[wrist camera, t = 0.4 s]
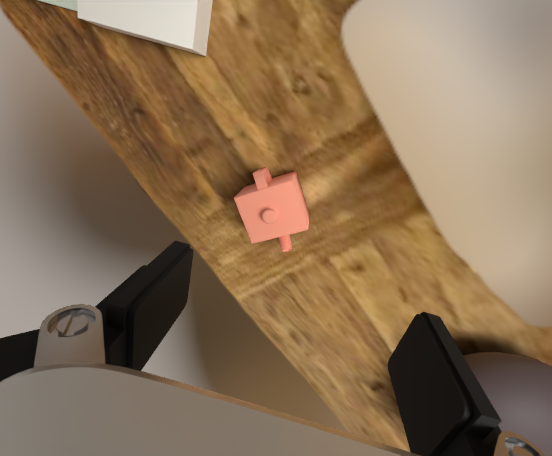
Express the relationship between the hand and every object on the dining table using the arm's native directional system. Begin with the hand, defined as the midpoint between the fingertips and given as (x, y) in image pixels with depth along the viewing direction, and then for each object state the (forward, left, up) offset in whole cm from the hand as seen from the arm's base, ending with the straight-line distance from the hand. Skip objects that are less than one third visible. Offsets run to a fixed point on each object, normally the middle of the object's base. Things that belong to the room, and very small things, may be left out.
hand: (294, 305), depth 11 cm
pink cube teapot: (+6, -3, -30) cm, 31 cm away
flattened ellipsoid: (+28, +39, -30) cm, 56 cm away
